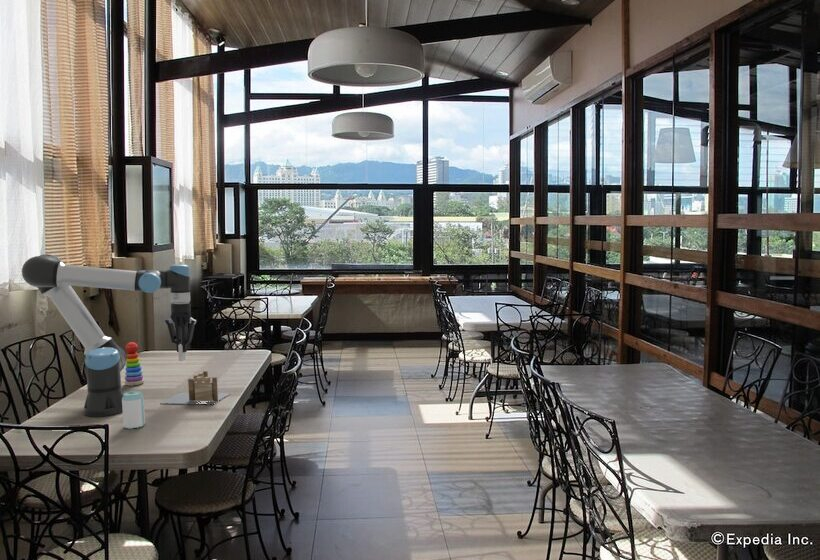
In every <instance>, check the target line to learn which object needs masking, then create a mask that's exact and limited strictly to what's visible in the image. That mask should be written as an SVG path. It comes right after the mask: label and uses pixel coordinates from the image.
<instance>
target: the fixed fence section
mask: <svg viewBox="0 0 820 560" xmlns="http://www.w3.org/2000/svg"><path fill="white" fill-rule="evenodd" d="M211 379H212V380H211ZM204 380H205V382H203V378H202V377H197V382H195V379H194V377H192V378H191V377H190V378H188V379H187V385H188V393H189V401H194V400H195V401H218V393H219V391H218V377H217V376H212V377H211V376H208V377H205V378H204Z"/></svg>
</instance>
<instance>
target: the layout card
mask: <svg viewBox="0 0 820 560" xmlns="http://www.w3.org/2000/svg"><path fill="white" fill-rule="evenodd" d="M229 394H230V395H231V393H226V392H225V393H223V392H218V401H219V400H221V399H222V398H224V397H225V398H227V397H228V396H227V395H229ZM230 395H229V396H230ZM226 396H227V397H226ZM225 398H224V399H225ZM222 400H223V399H222ZM222 400H221V401H222ZM218 401H210V402H209V401H208V402H206V403H207V404H212V405H211V406H214V405H215V404H214V403H216V402H217V403H219V402H220V401H219V402H218ZM198 402H200V401H198ZM198 402H197V401H195V400H194V401H189V392H179V393H177V394H174V395H173V396H171V397H169V398H166V399H165V400H164V401H162V402H160V405H162V404H161V403H171V404H170V405H178V404H196V403H198ZM200 403H201V402H200ZM217 403H216V404H217ZM198 404H199V403H198ZM213 404H214V405H213Z"/></svg>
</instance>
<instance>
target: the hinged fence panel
mask: <svg viewBox="0 0 820 560" xmlns="http://www.w3.org/2000/svg"><path fill="white" fill-rule="evenodd" d="M197 377H202V378H203V382H205V380H204V378H205V377H209V372H208V370H204V371H202V372H198V374H197V373H196V374H193V378H194V379H195V382H197Z"/></svg>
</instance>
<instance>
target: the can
mask: <svg viewBox="0 0 820 560" xmlns="http://www.w3.org/2000/svg"><path fill="white" fill-rule="evenodd" d="M123 394H124V396H123V398H122V410H123V412H122V422H123V423H122V425H123V427H124V428H126V429H127V428H128V429H127V430H134V429H133V428H137V429H140V428H143V426H145V425H146V416H145V415H146V413H145V399H144V398H145V397H144V395H143V393H142V391H137V390H134V391H128V392H124V393H123ZM139 427H140V428H139Z"/></svg>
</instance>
